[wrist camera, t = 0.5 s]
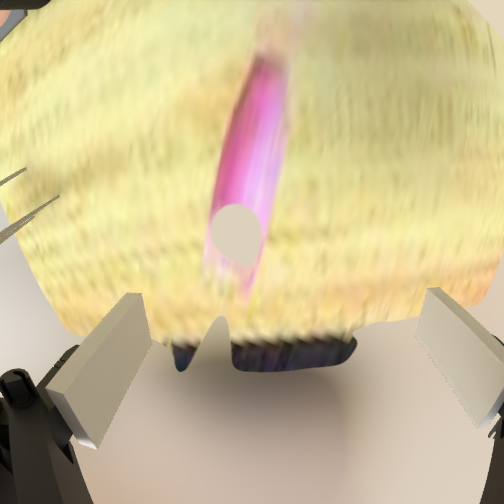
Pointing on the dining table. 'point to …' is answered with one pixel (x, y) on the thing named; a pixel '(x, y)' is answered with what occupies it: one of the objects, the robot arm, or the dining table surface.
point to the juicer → (4, 235)
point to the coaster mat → (10, 21)
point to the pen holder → (22, 4)
